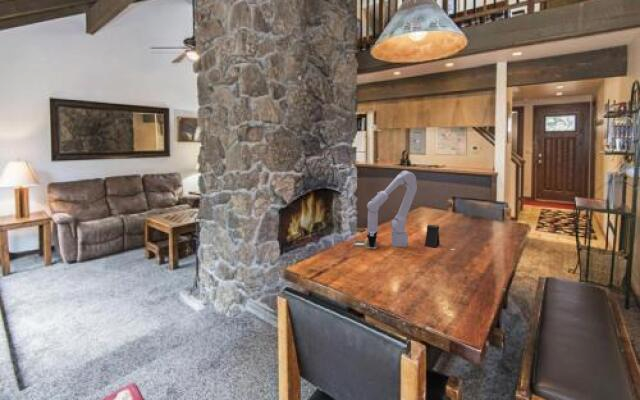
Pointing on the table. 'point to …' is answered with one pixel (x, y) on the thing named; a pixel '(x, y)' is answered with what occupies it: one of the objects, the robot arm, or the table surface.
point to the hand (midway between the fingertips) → (372, 244)
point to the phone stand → (432, 236)
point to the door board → (362, 244)
